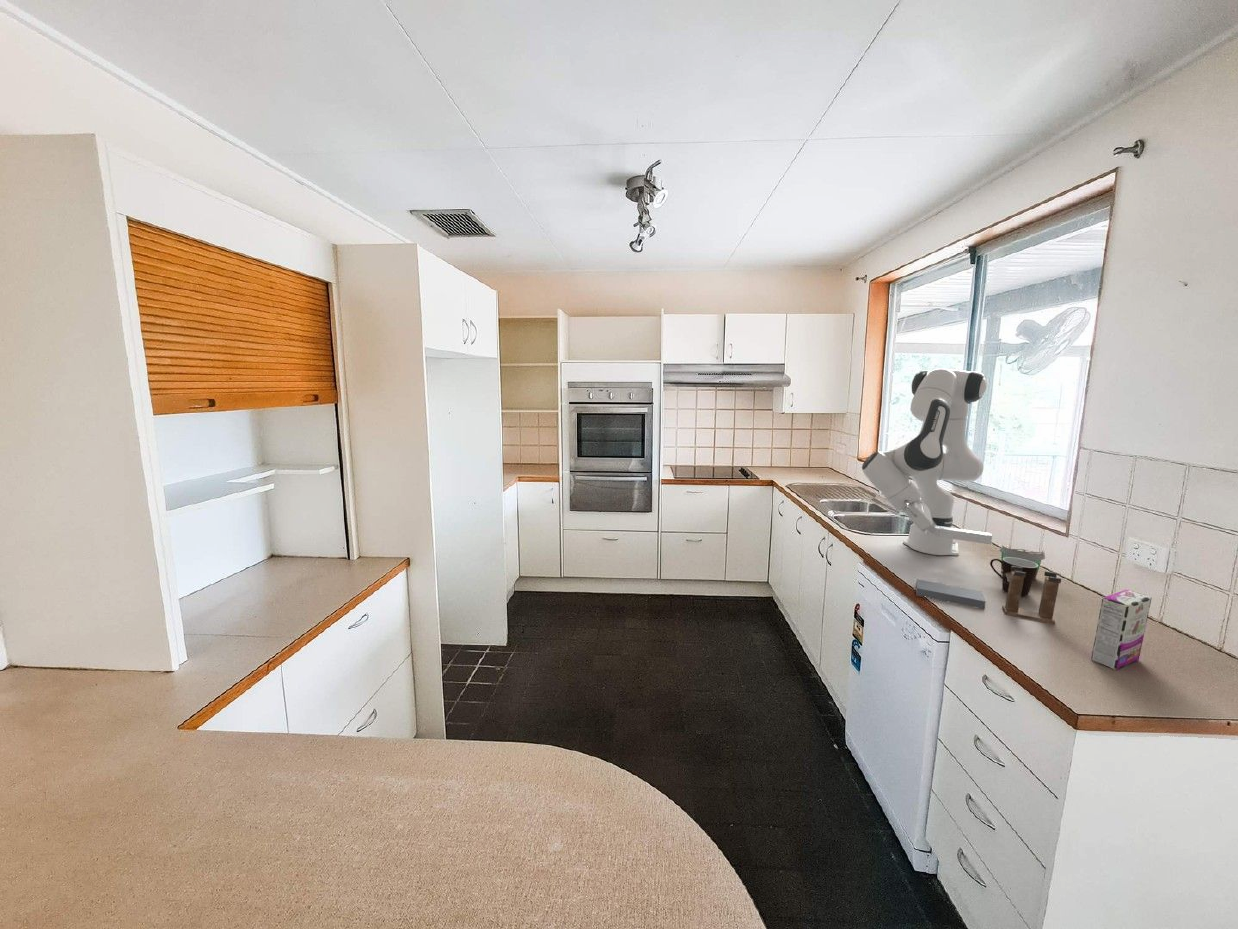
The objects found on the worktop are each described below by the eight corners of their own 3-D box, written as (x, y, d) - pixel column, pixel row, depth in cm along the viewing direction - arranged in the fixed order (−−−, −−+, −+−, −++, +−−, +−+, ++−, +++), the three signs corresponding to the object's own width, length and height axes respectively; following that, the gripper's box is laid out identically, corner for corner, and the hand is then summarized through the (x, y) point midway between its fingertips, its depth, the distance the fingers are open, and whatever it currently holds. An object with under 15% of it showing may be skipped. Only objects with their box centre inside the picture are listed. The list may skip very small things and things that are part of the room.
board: (916, 595, 150) (917, 588, 150) (915, 586, 157) (916, 579, 156) (984, 609, 142) (985, 601, 141) (980, 598, 149) (981, 591, 148)
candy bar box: (1112, 650, 121) (1125, 588, 118) (1139, 660, 117) (1154, 597, 114) (1088, 659, 117) (1101, 596, 114) (1115, 671, 112) (1130, 605, 109)
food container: (1001, 579, 164) (1006, 550, 162) (995, 572, 169) (1000, 545, 167) (1047, 585, 159) (1052, 556, 157) (1039, 578, 165) (1044, 550, 163)
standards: (1004, 614, 139) (1012, 570, 136) (1001, 607, 143) (1009, 565, 140) (1055, 624, 133) (1063, 579, 131) (1050, 617, 138) (1058, 573, 135)
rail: (926, 534, 148) (927, 526, 148) (925, 532, 151) (926, 524, 151) (990, 544, 141) (992, 535, 140) (989, 541, 143) (990, 533, 143)
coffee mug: (1040, 598, 149) (1045, 568, 147) (1011, 598, 149) (1017, 567, 148) (1010, 582, 161) (1015, 554, 159) (984, 582, 161) (989, 553, 159)
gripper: (915, 498, 141) (951, 536, 138) (913, 485, 158) (945, 519, 155) (895, 511, 144) (930, 548, 141) (896, 497, 161) (927, 530, 158)
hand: (938, 533), depth 148 cm, fingers closed on rail, 3 cm apart
